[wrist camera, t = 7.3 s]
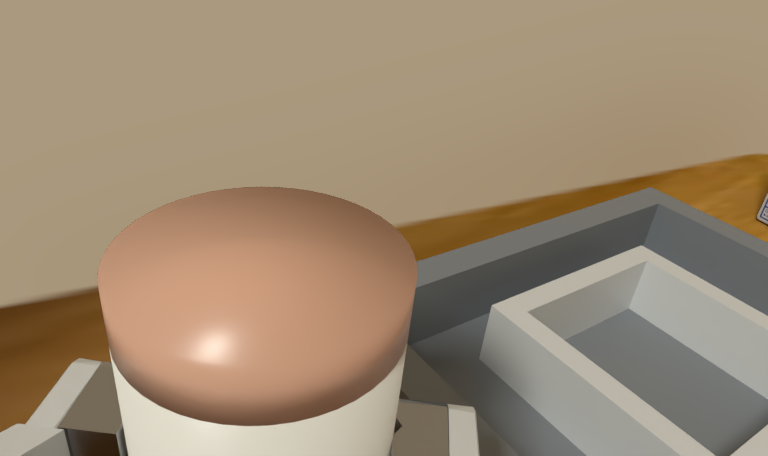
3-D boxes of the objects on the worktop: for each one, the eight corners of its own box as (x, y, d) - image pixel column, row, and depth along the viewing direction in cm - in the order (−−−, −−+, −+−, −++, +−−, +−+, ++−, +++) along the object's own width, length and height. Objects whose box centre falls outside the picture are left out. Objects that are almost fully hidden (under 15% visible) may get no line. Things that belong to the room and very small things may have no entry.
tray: (686, 865, 11) (766, 789, 9) (310, 377, 20) (314, 294, 19) (976, 450, 21) (1042, 374, 19) (628, 249, 30) (651, 187, 28)
